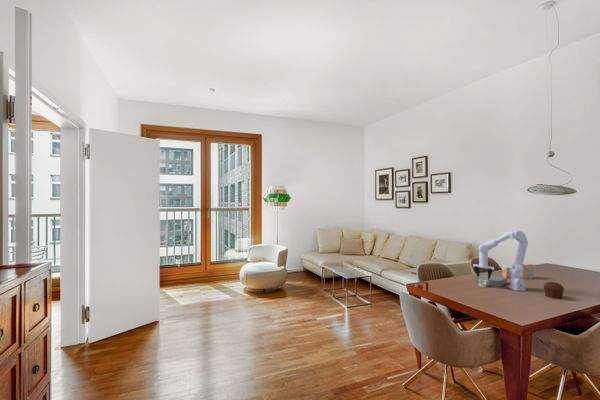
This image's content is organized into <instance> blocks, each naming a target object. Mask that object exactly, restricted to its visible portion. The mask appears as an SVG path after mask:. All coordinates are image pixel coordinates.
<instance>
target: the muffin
mask: <svg viewBox="0 0 600 400" xmlns="http://www.w3.org/2000/svg"><path fill="white" fill-rule="evenodd" d="M543 291H544V295H545V297H547V298H549V299H550V298H551V299H554V300H562V299H563V295H564V291H565V287H563V285H562V284H561V283H558V282H555V281H548V282H546V283H545V284H543Z"/></svg>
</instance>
